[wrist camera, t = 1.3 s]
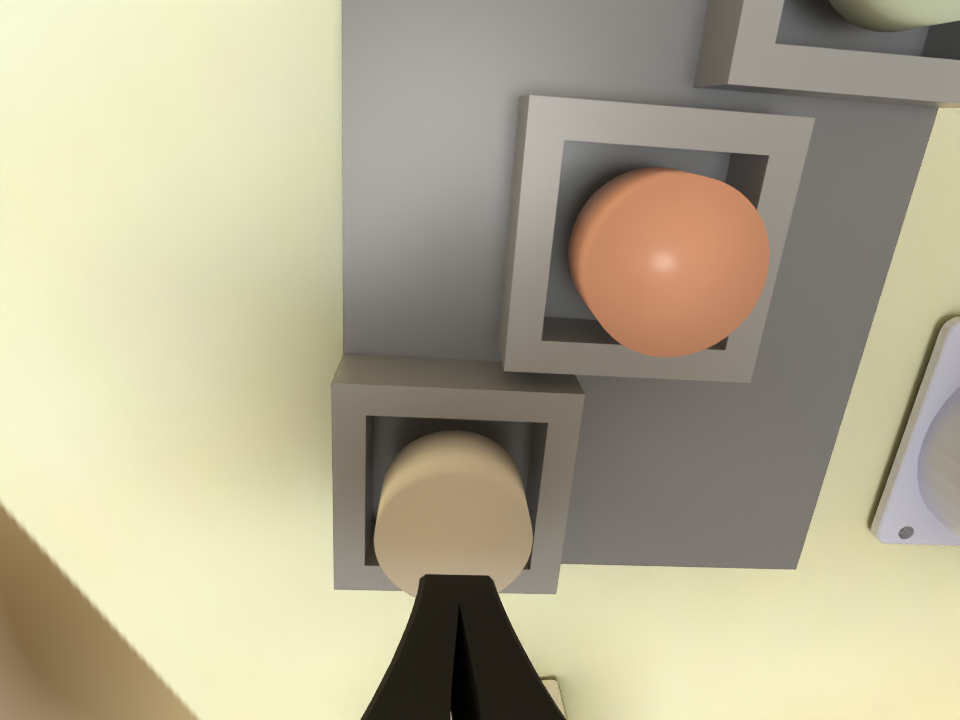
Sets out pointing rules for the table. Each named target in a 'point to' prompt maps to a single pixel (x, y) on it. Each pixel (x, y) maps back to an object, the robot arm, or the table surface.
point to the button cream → (452, 511)
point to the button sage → (897, 13)
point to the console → (546, 276)
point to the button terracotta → (668, 260)
